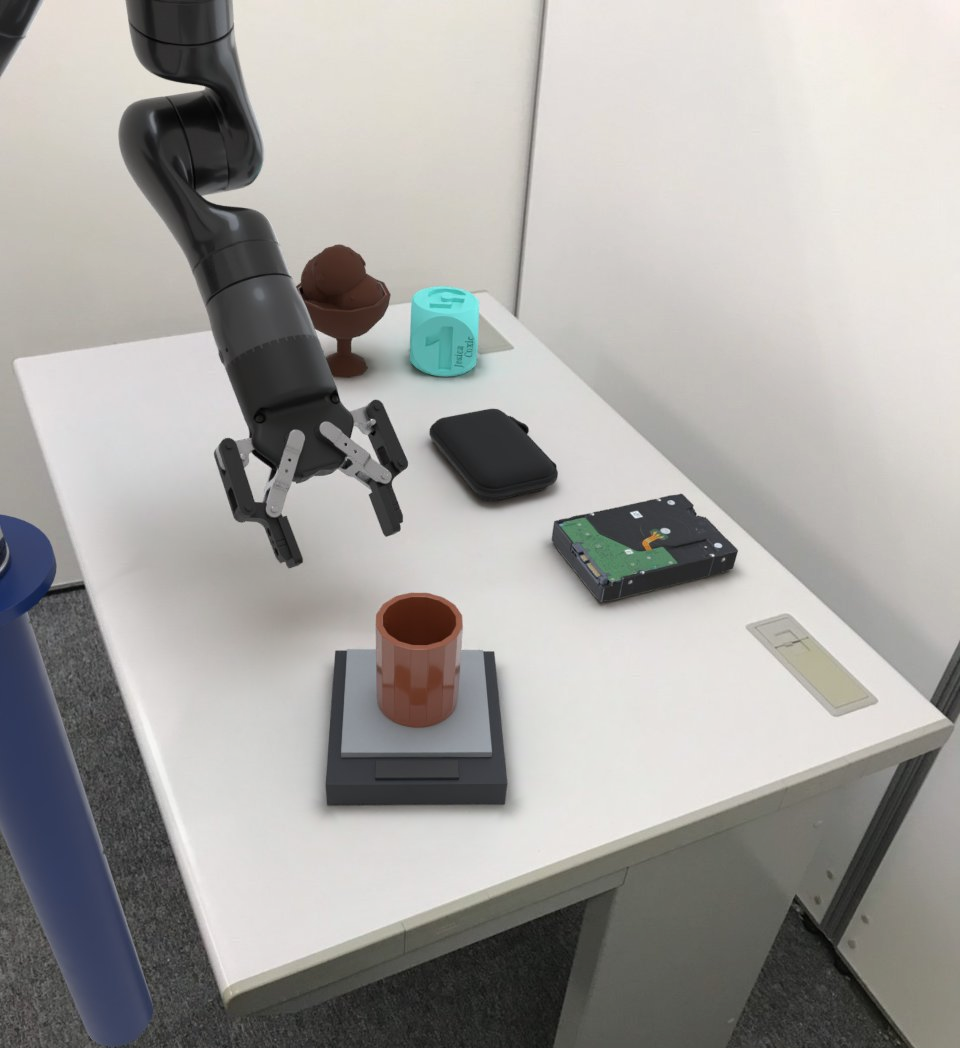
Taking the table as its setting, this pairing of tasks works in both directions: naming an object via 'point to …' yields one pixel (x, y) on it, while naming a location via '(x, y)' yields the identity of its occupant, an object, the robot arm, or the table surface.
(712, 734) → the table surface
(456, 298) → the decorative dice
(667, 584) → the disk drive
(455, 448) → the carrying case
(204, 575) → the table surface
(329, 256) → the ice cream bowl
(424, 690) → the cup
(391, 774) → the scale
